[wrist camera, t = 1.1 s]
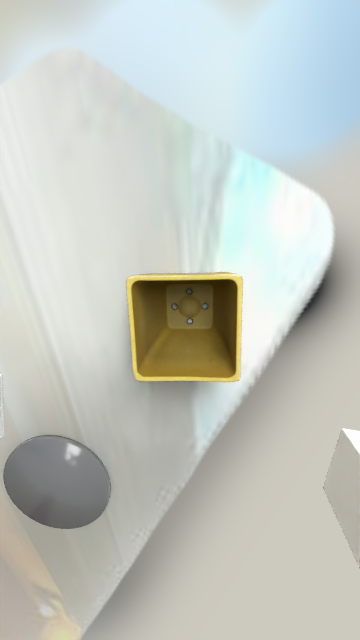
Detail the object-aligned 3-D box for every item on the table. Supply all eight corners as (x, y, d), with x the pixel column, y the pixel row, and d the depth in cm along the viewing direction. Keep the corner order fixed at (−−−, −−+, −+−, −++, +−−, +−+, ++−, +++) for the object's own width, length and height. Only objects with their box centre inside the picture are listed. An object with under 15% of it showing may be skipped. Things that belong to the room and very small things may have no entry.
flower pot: (234, 262, 31) (243, 273, 22) (232, 344, 33) (241, 383, 25) (147, 264, 32) (124, 275, 23) (152, 344, 34) (133, 381, 26)
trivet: (8, 513, 43) (5, 518, 42) (5, 426, 39) (1, 430, 38) (107, 531, 42) (105, 537, 41) (114, 445, 38) (112, 449, 37)
